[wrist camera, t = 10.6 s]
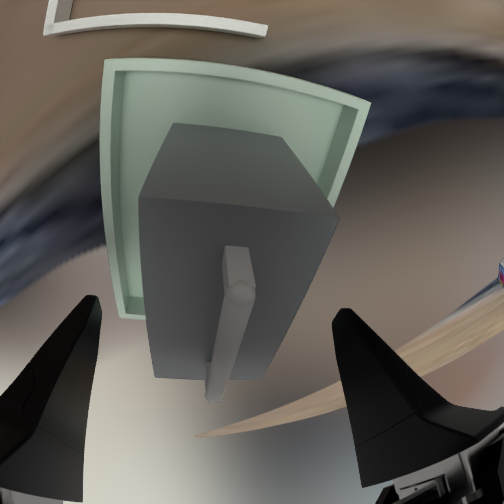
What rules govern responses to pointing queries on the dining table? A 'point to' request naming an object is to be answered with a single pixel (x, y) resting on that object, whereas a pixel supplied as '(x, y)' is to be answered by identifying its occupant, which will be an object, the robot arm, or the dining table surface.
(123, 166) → the tray
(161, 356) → the grey box with tab
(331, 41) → the dining table surface
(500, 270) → the ink cartridge box
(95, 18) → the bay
